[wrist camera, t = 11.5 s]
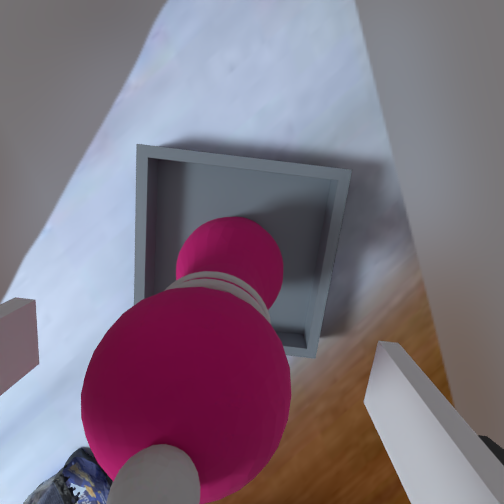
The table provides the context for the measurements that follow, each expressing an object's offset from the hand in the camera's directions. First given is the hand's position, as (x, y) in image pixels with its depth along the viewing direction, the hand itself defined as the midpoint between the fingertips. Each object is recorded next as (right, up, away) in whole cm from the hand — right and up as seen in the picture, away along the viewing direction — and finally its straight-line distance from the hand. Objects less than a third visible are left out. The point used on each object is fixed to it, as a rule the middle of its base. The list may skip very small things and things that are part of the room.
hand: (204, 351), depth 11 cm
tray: (+1, +4, +14) cm, 14 cm away
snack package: (-18, -22, +22) cm, 36 cm away
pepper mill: (+1, +4, +13) cm, 14 cm away
